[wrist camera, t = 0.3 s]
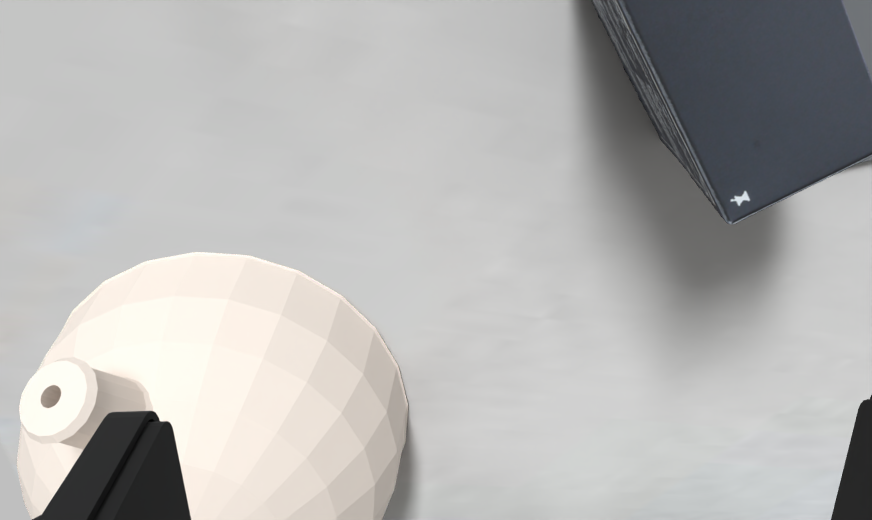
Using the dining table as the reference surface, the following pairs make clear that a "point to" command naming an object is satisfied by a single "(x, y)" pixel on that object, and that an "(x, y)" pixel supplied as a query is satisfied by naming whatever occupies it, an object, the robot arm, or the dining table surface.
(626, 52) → the small box
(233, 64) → the dining table surface
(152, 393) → the kettle
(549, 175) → the dining table surface
